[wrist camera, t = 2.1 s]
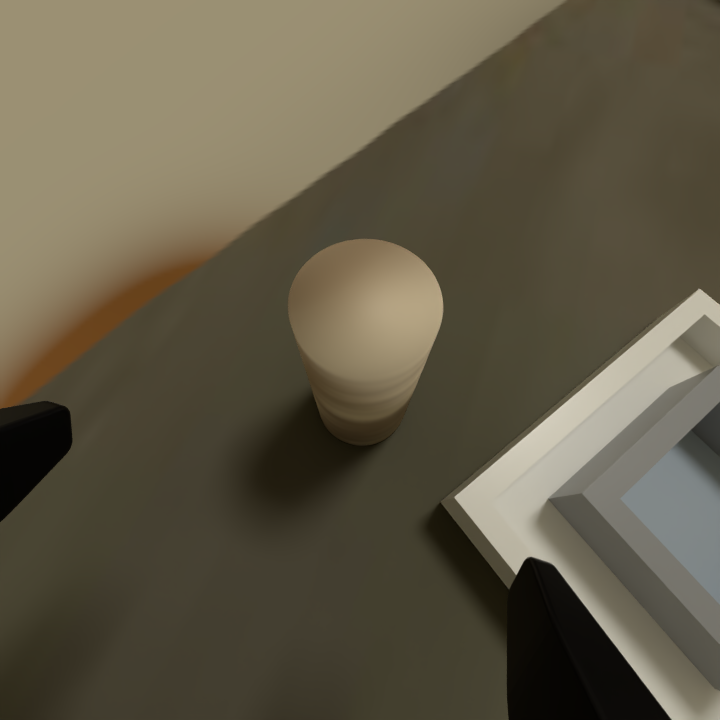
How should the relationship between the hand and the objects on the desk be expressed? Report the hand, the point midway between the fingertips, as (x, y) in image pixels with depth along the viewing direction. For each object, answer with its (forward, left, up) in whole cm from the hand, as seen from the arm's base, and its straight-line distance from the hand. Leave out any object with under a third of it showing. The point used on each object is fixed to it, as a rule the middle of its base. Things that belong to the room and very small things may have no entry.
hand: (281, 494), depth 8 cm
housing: (-10, -13, -12) cm, 20 cm away
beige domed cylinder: (+3, -5, -12) cm, 13 cm away
